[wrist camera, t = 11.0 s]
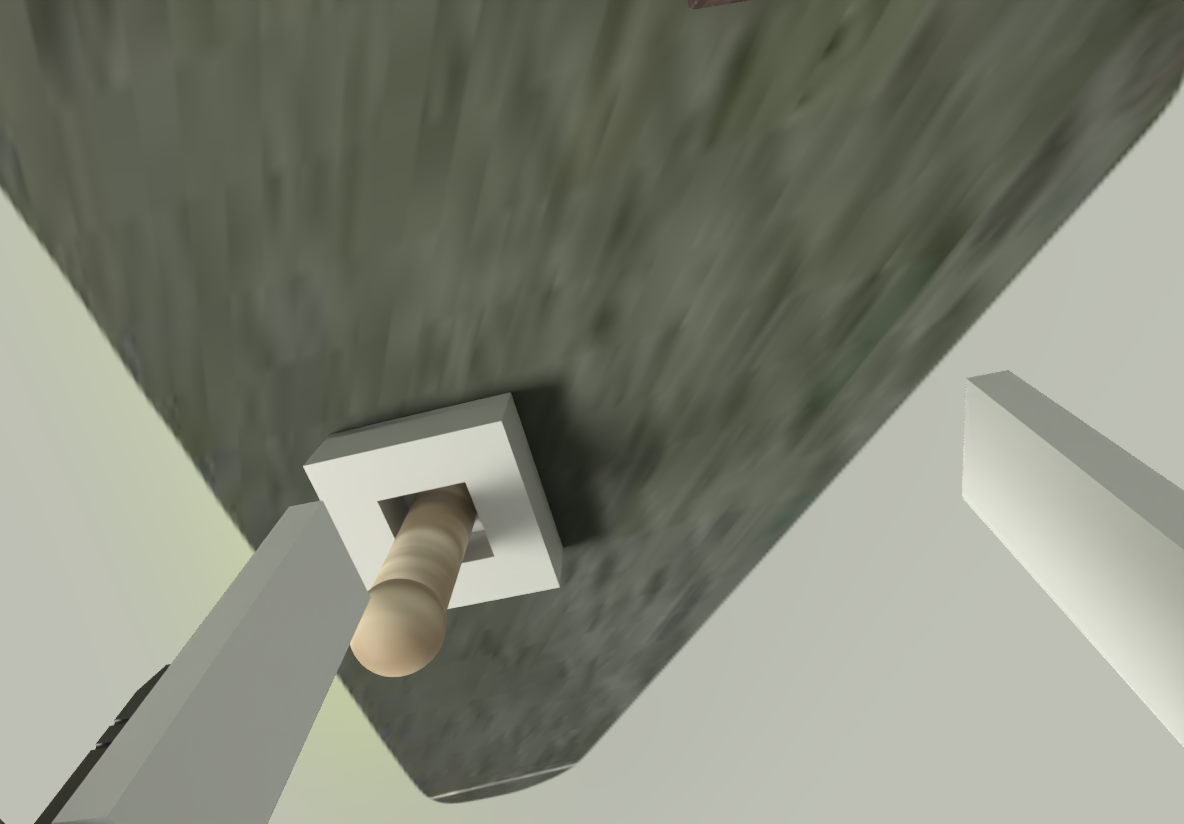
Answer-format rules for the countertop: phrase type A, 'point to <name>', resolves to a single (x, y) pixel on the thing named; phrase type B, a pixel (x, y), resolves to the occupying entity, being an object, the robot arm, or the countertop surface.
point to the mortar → (437, 459)
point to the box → (709, 3)
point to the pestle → (416, 584)
